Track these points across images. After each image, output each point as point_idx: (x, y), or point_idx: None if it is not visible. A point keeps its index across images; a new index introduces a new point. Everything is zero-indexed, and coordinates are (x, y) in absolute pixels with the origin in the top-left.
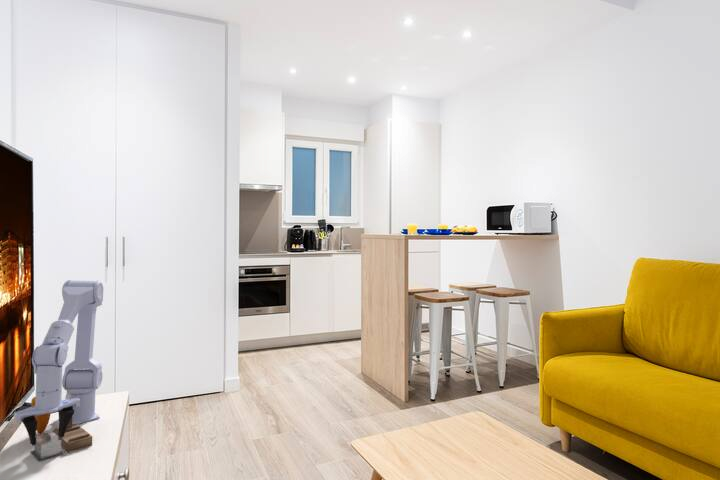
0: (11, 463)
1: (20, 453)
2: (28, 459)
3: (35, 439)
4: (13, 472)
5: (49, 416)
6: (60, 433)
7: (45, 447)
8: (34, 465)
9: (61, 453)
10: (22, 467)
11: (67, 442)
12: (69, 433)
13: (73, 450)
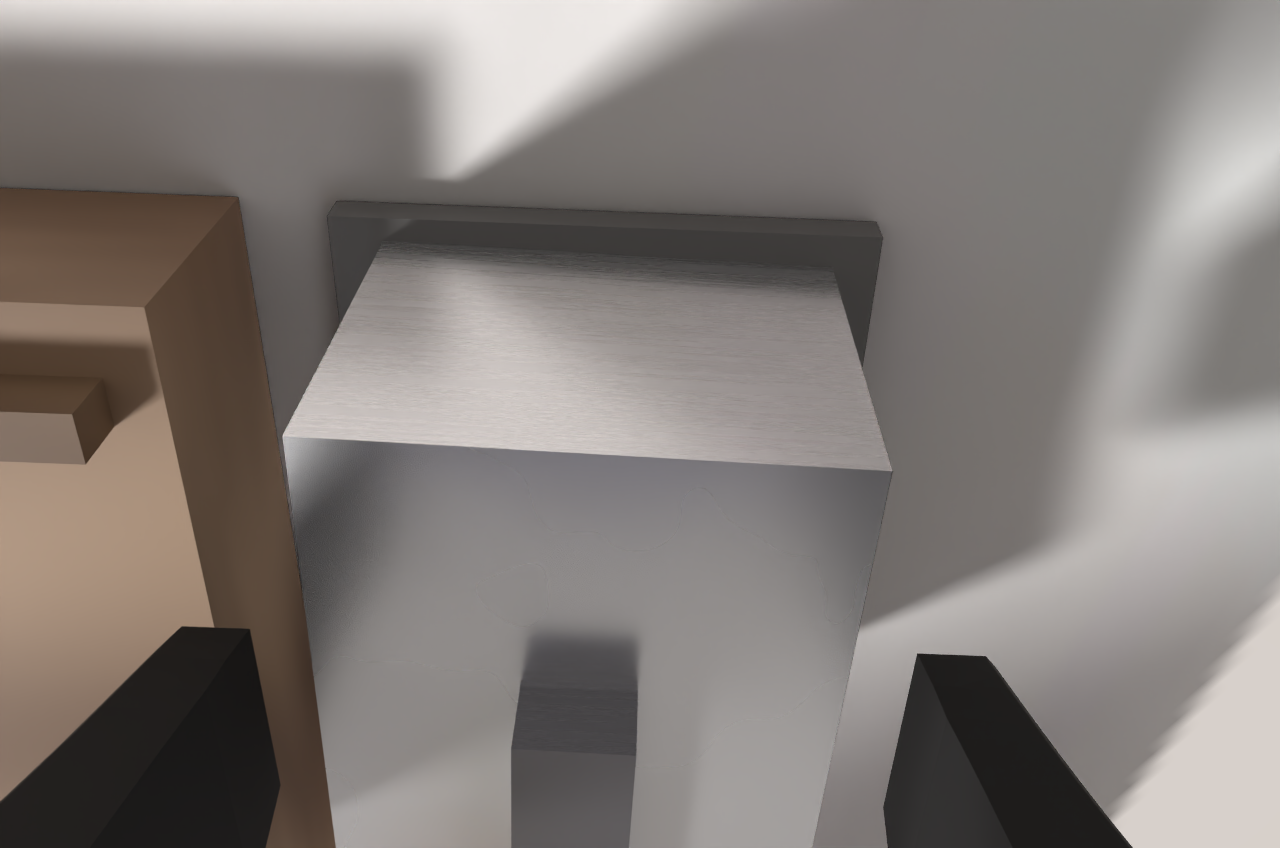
0: (1228, 540)
1: None
2: (955, 485)
3: (989, 765)
4: None
5: None
6: (227, 759)
7: (750, 402)
8: (1025, 106)
9: (374, 215)
10: (1228, 210)
11: (146, 387)
12: None
13: (96, 196)
